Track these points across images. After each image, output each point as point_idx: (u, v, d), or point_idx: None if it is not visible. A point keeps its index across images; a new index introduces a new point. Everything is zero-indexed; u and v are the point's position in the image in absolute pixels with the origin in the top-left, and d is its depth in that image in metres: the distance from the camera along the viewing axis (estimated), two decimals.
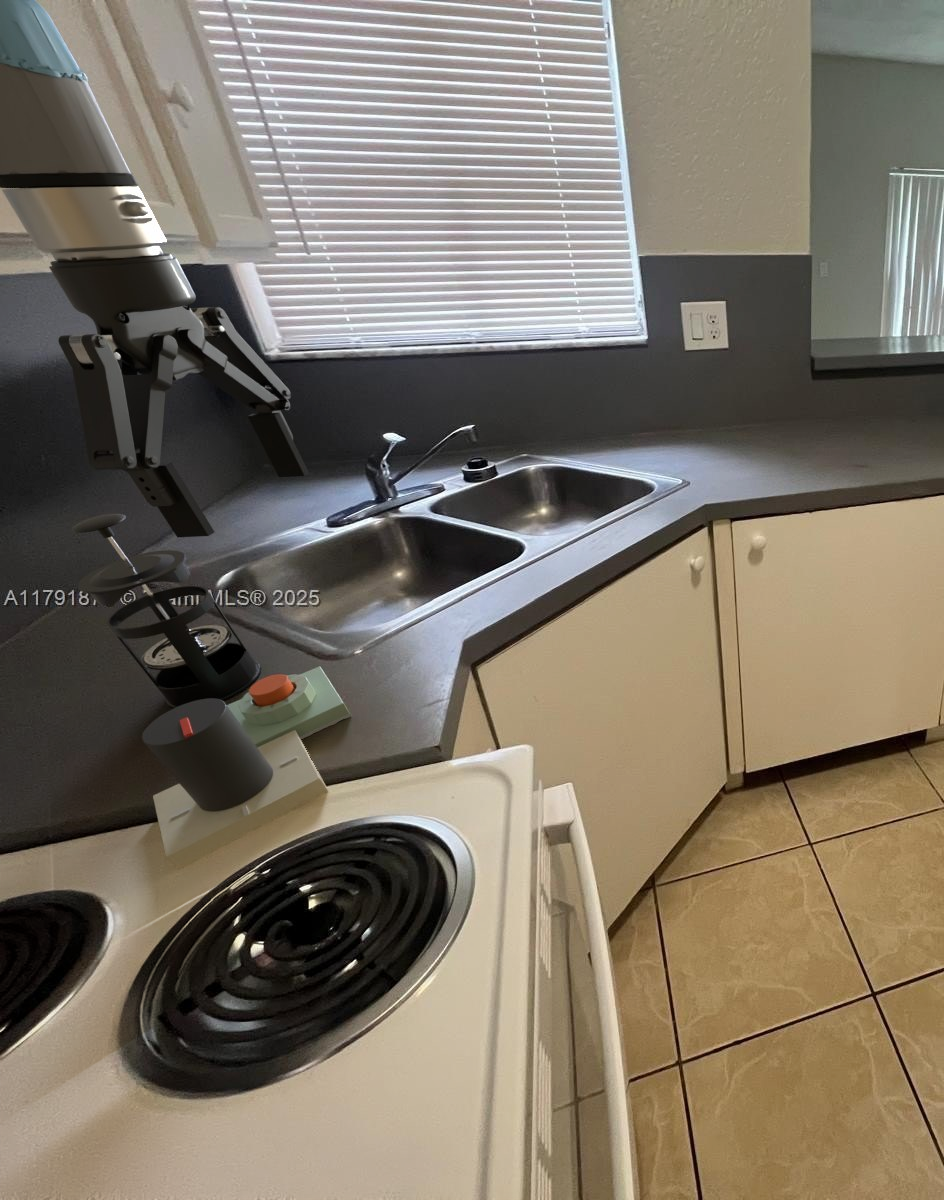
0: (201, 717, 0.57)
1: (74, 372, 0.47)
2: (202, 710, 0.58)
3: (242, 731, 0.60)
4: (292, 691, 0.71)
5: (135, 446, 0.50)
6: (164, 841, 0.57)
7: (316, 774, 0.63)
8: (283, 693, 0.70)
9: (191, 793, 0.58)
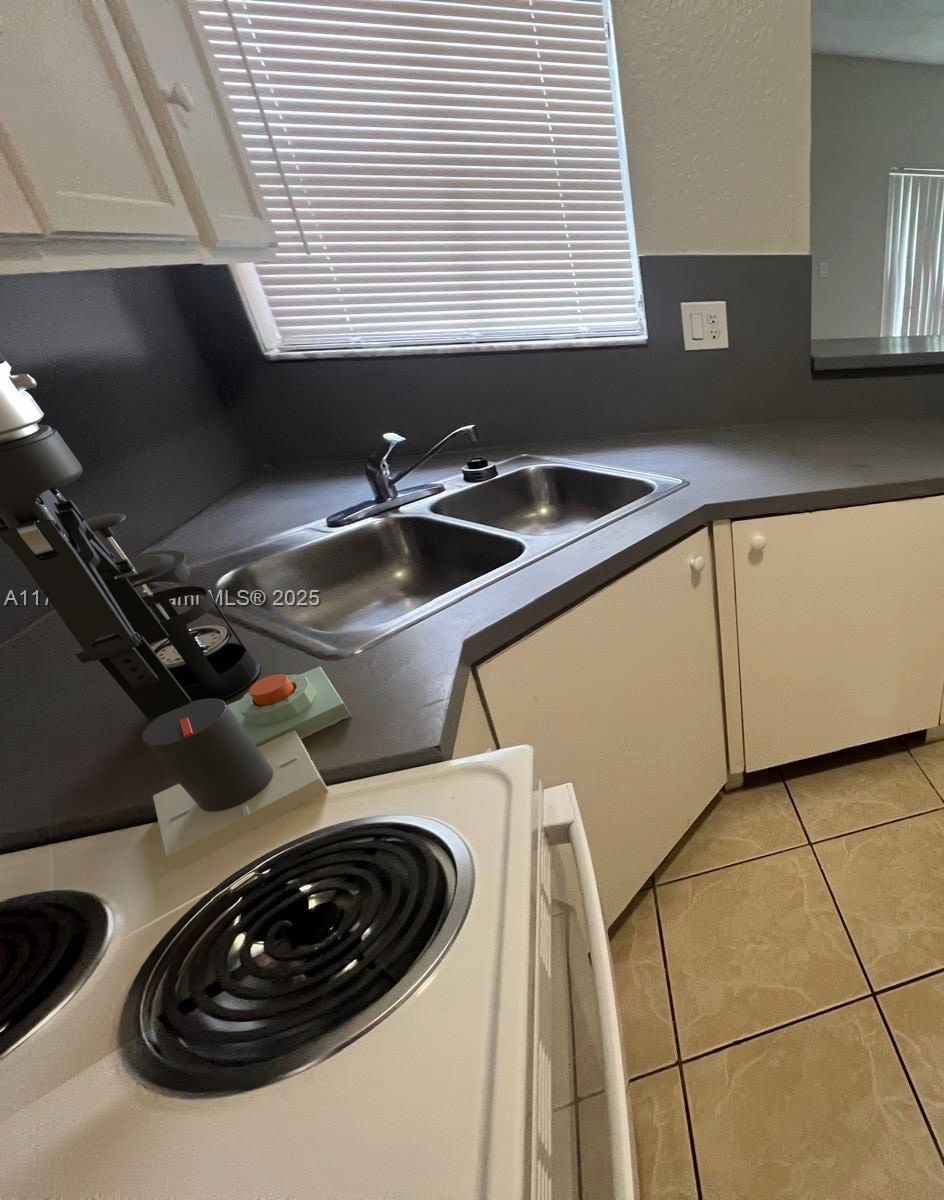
0: (201, 717, 0.57)
1: (28, 567, 0.42)
2: (202, 710, 0.58)
3: (242, 731, 0.60)
4: (292, 691, 0.71)
5: None
6: (164, 841, 0.57)
7: (316, 774, 0.63)
8: (283, 693, 0.70)
9: (191, 793, 0.58)
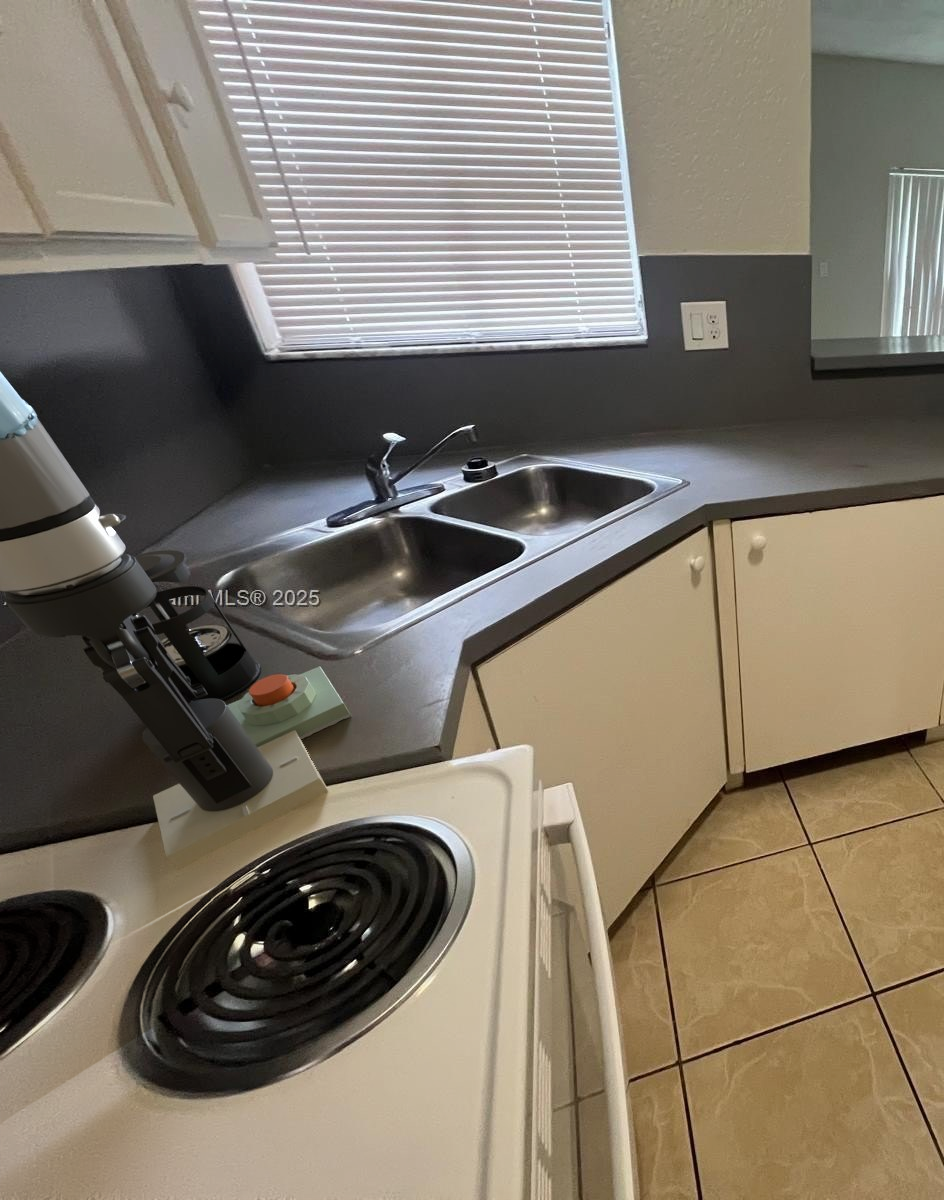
0: (201, 717, 0.57)
1: (126, 698, 0.49)
2: (202, 710, 0.58)
3: (242, 731, 0.60)
4: (292, 691, 0.71)
5: None
6: (164, 841, 0.57)
7: (316, 774, 0.63)
8: (283, 693, 0.70)
9: (191, 793, 0.58)
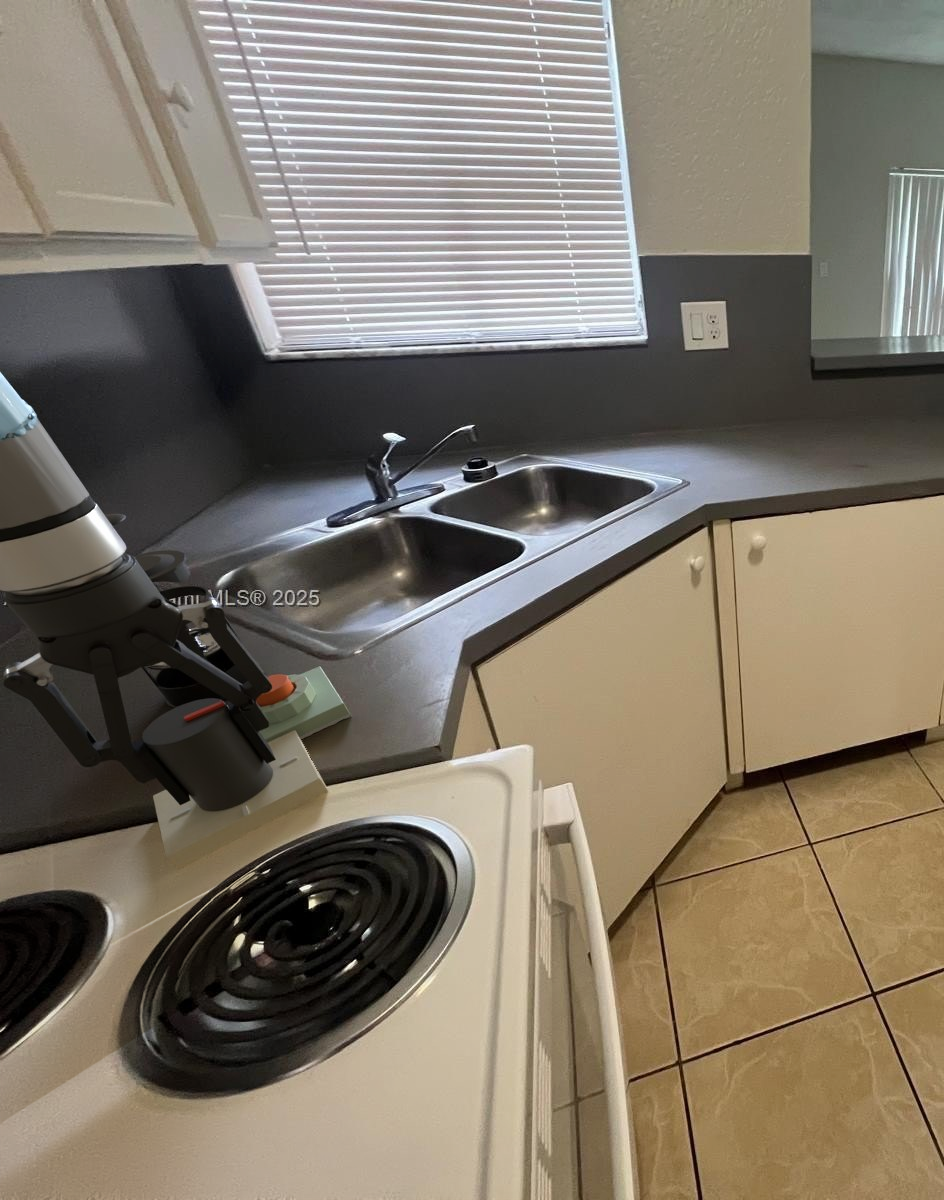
0: (192, 710, 0.58)
1: (228, 631, 0.56)
2: (175, 716, 0.58)
3: None
4: (292, 691, 0.71)
5: (238, 685, 0.59)
6: (164, 841, 0.57)
7: (316, 774, 0.63)
8: (283, 693, 0.70)
9: (247, 774, 0.60)
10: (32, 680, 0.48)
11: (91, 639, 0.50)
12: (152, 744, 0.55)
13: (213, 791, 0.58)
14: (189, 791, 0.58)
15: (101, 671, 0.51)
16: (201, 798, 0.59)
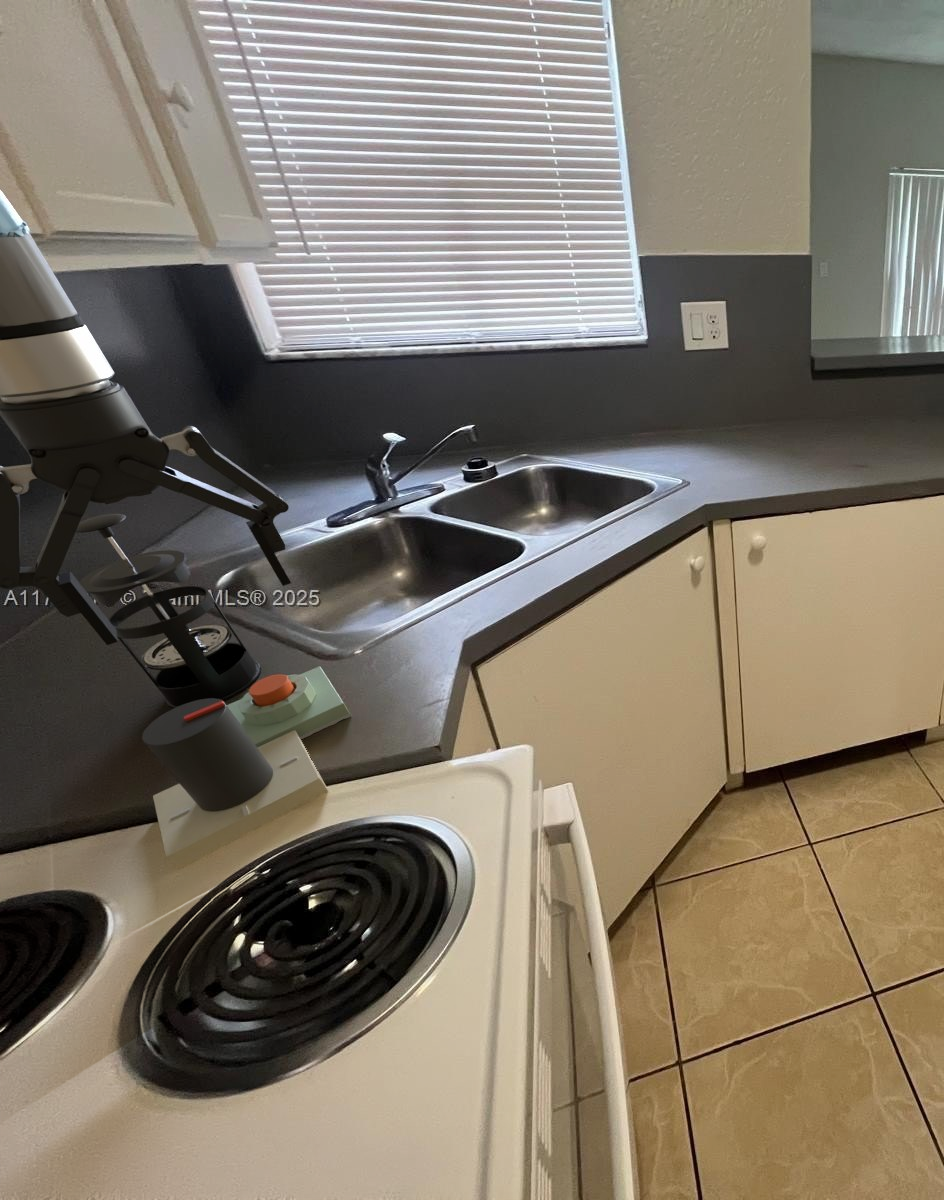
0: (191, 710, 0.58)
1: (217, 454, 0.58)
2: (175, 716, 0.58)
3: None
4: (292, 691, 0.71)
5: (251, 505, 0.62)
6: (164, 841, 0.57)
7: (316, 774, 0.63)
8: (283, 693, 0.70)
9: (247, 774, 0.60)
10: (9, 483, 0.50)
11: (80, 460, 0.52)
12: (152, 744, 0.55)
13: (213, 791, 0.58)
14: (189, 791, 0.58)
15: (78, 491, 0.52)
16: (201, 798, 0.59)
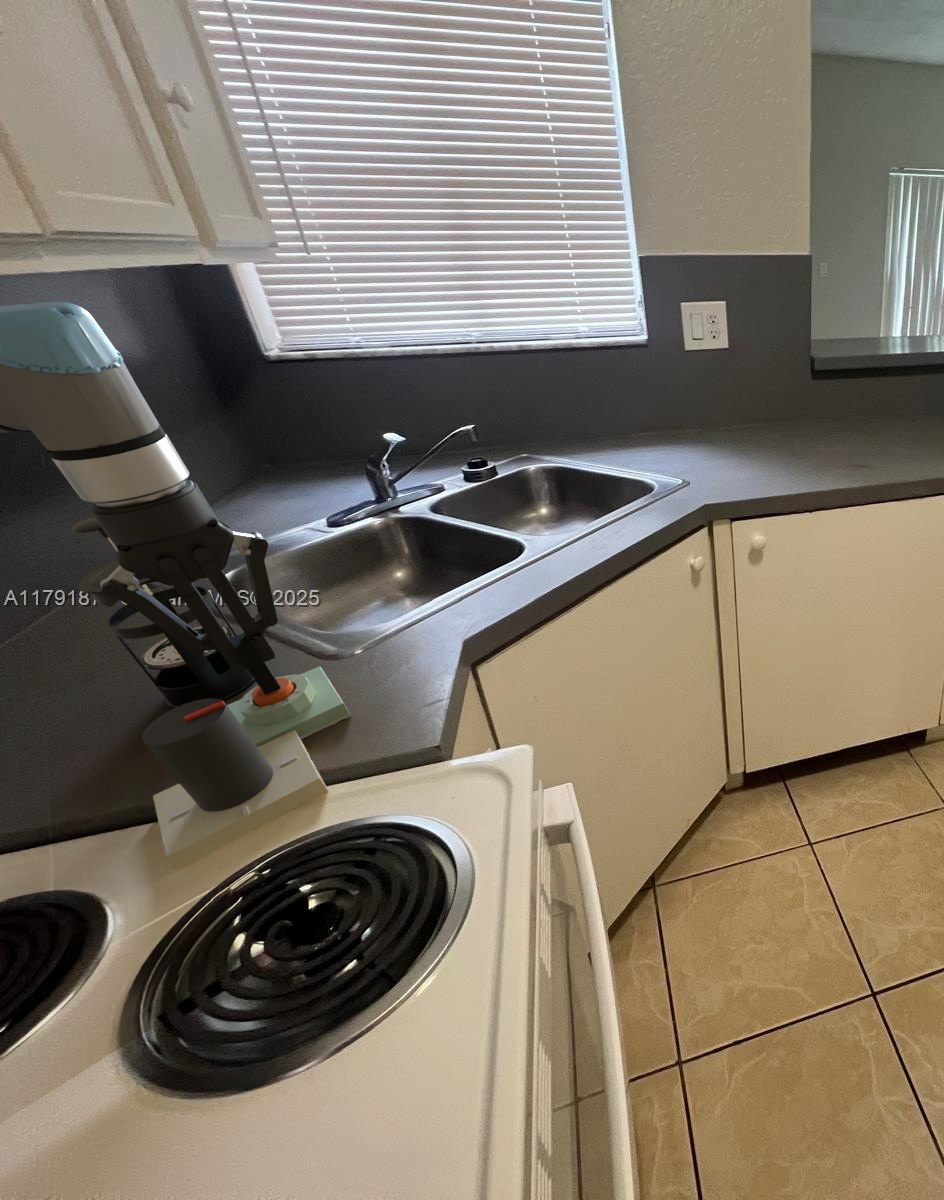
0: (191, 710, 0.58)
1: (264, 562, 0.65)
2: (175, 716, 0.58)
3: None
4: None
5: None
6: (164, 841, 0.57)
7: (316, 774, 0.63)
8: (285, 697, 0.70)
9: (247, 774, 0.60)
10: (123, 587, 0.58)
11: (159, 550, 0.59)
12: (152, 744, 0.55)
13: (213, 791, 0.58)
14: (189, 791, 0.58)
15: (175, 578, 0.60)
16: (201, 798, 0.59)
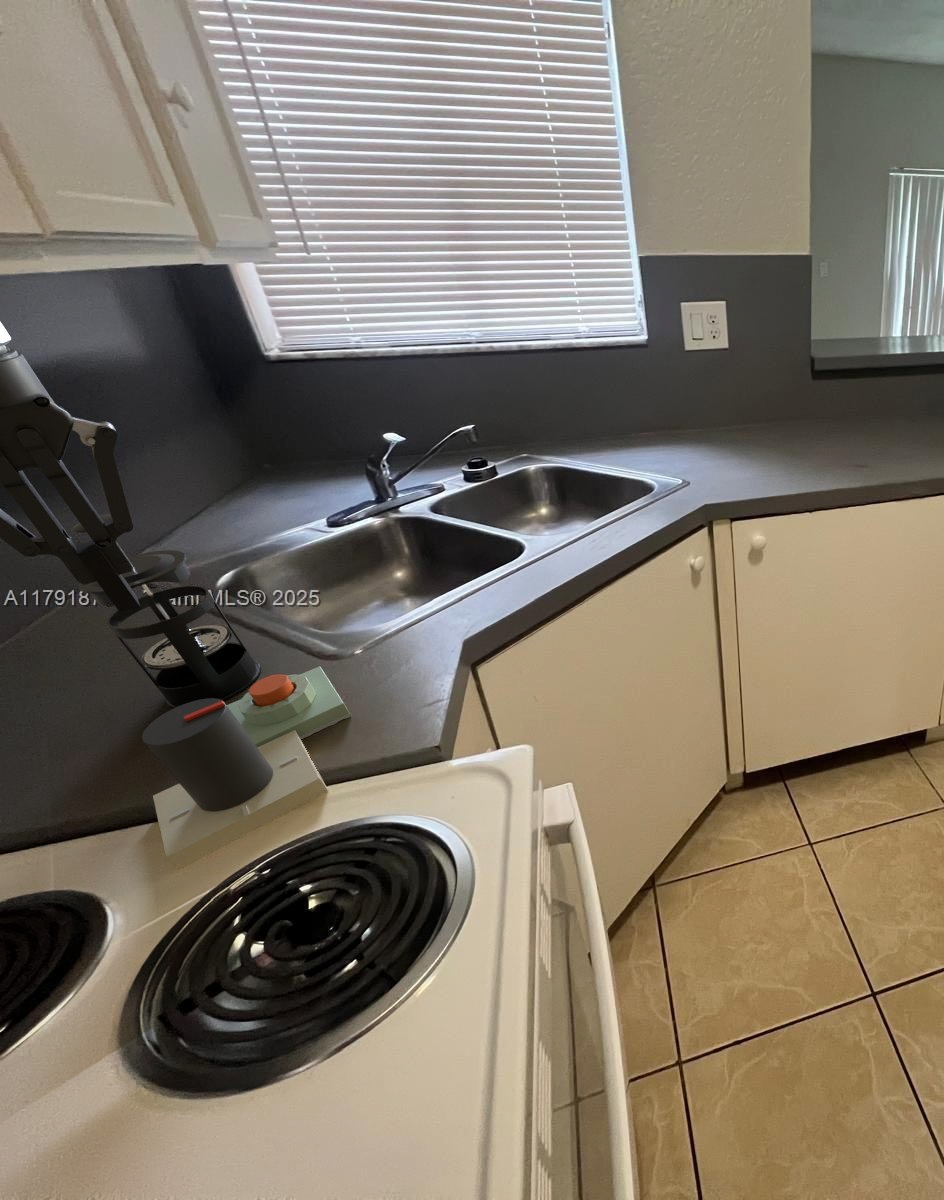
0: (191, 710, 0.58)
1: (113, 456, 0.57)
2: (175, 716, 0.58)
3: None
4: (292, 691, 0.71)
5: (102, 523, 0.59)
6: (164, 841, 0.57)
7: (316, 774, 0.63)
8: (283, 693, 0.70)
9: (247, 774, 0.60)
10: None
11: None
12: (152, 744, 0.55)
13: (213, 791, 0.58)
14: (189, 791, 0.58)
15: None
16: (201, 798, 0.59)
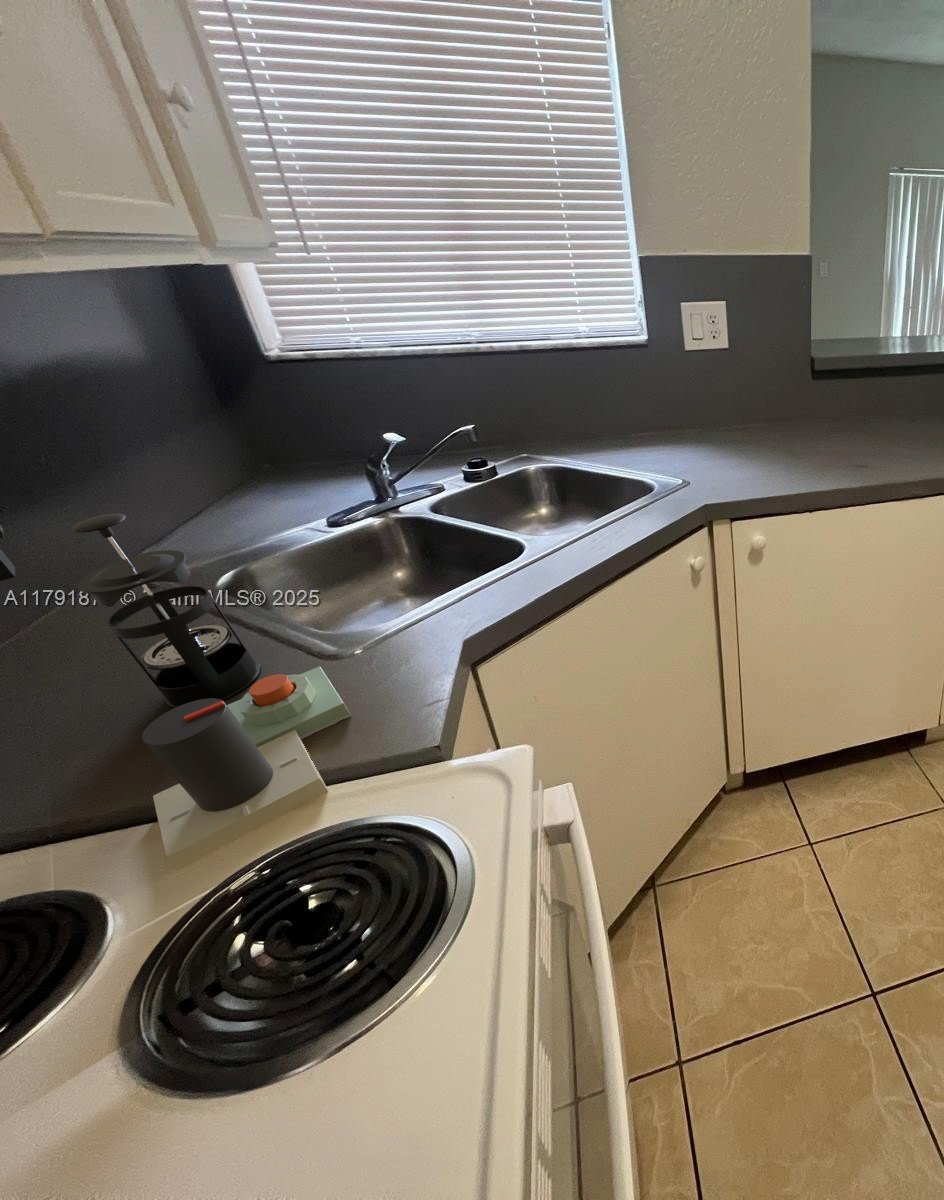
0: (191, 710, 0.58)
1: None
2: (175, 716, 0.58)
3: None
4: (292, 691, 0.71)
5: None
6: (164, 841, 0.57)
7: (316, 774, 0.63)
8: (283, 693, 0.70)
9: (247, 774, 0.60)
10: None
11: None
12: (152, 744, 0.55)
13: (213, 791, 0.58)
14: (189, 791, 0.58)
15: None
16: (201, 798, 0.59)
